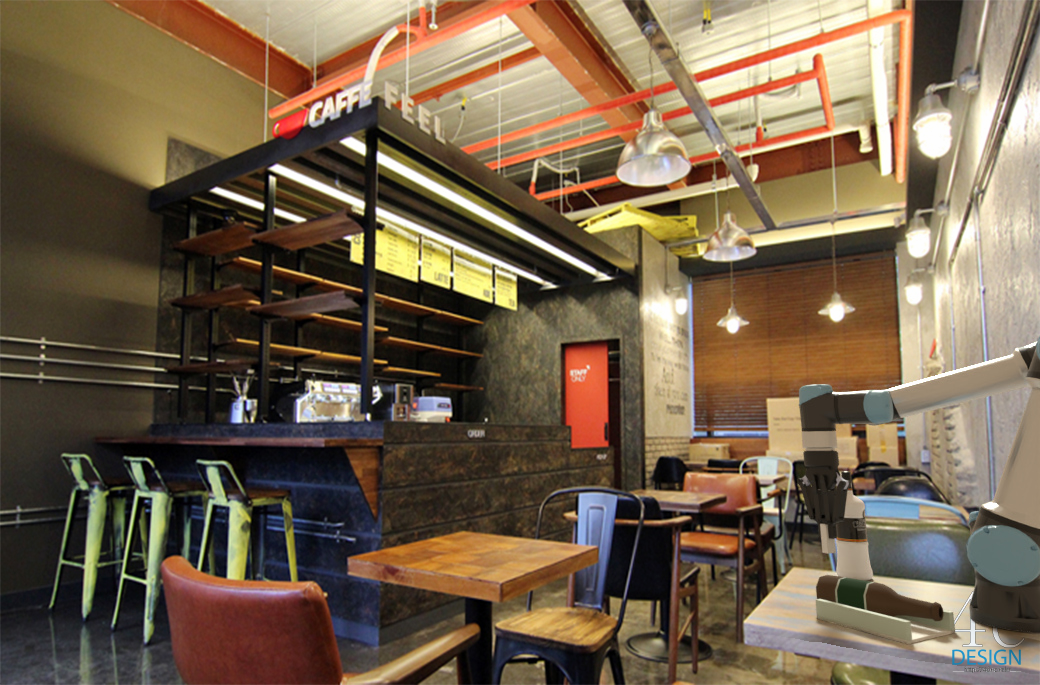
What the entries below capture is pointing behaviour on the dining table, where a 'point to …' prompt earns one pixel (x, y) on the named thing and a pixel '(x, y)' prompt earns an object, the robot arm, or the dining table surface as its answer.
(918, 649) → the dining table surface
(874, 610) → the beer bottle
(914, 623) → the rest
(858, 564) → the vodka
